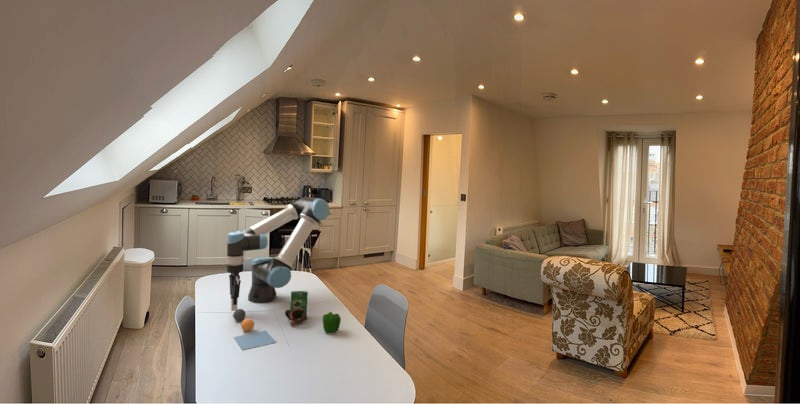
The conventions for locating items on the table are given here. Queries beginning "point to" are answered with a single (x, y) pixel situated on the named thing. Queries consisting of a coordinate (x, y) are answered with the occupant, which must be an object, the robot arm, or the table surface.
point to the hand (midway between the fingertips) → (234, 310)
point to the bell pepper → (331, 322)
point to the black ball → (239, 314)
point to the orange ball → (247, 325)
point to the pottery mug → (296, 316)
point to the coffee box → (299, 300)
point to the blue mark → (254, 340)
